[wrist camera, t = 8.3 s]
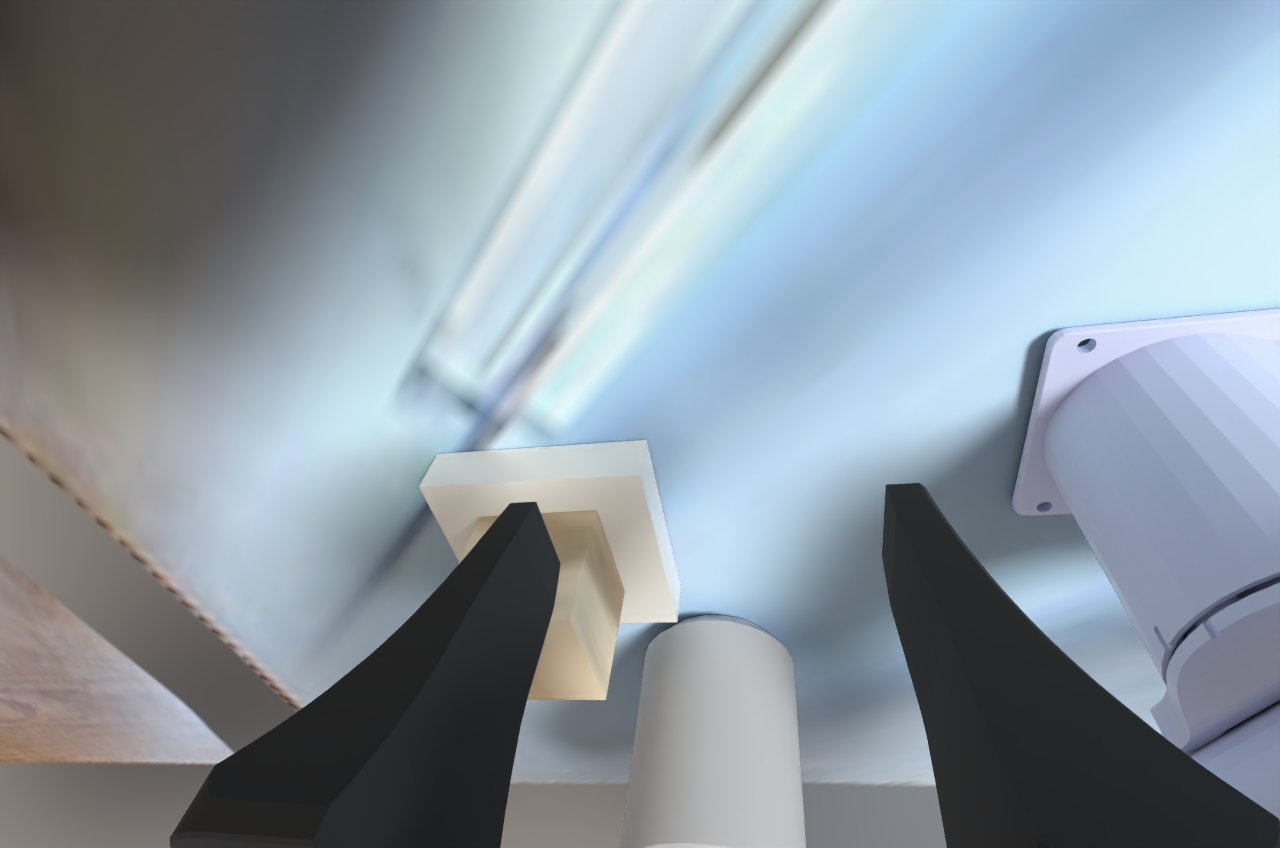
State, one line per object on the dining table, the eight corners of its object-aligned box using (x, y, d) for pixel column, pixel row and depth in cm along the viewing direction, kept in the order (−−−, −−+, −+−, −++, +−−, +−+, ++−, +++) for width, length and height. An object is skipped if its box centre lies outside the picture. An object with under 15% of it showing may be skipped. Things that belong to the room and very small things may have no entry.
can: (697, 699, 37) (681, 967, 27) (618, 628, 33) (570, 906, 24) (819, 669, 33) (848, 963, 24) (745, 587, 30) (746, 891, 21)
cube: (596, 509, 25) (570, 619, 21) (625, 591, 28) (606, 700, 24) (479, 516, 26) (433, 622, 22) (518, 593, 29) (483, 698, 25)
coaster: (646, 439, 25) (640, 474, 24) (680, 586, 31) (677, 622, 29) (437, 453, 27) (418, 486, 26) (504, 589, 32) (491, 623, 31)
